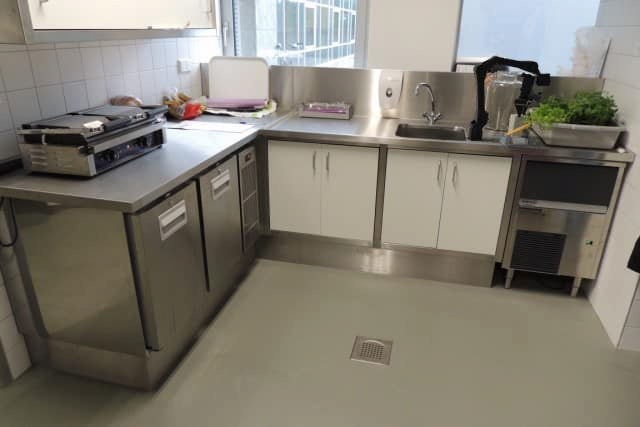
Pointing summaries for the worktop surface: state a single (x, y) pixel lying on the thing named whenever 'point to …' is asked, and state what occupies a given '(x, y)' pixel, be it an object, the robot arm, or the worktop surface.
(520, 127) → the strap
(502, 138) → the clamp base
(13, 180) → the worktop surface
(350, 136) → the worktop surface
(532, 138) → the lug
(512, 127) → the skincare box
